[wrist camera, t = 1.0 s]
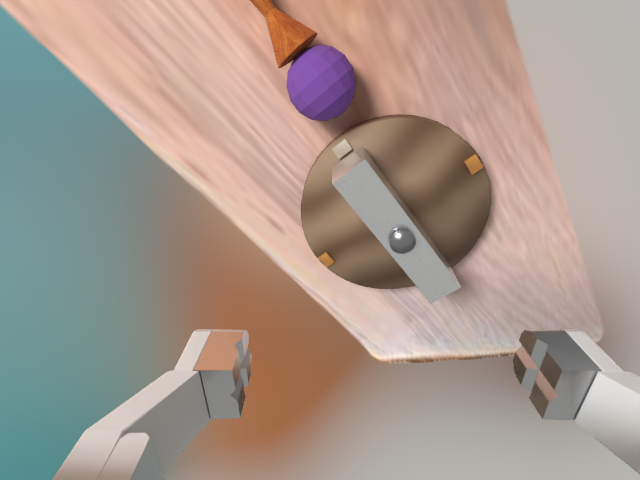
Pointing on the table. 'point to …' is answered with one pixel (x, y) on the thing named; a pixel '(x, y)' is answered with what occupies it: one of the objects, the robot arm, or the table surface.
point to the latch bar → (393, 224)
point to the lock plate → (410, 184)
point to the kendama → (309, 66)
